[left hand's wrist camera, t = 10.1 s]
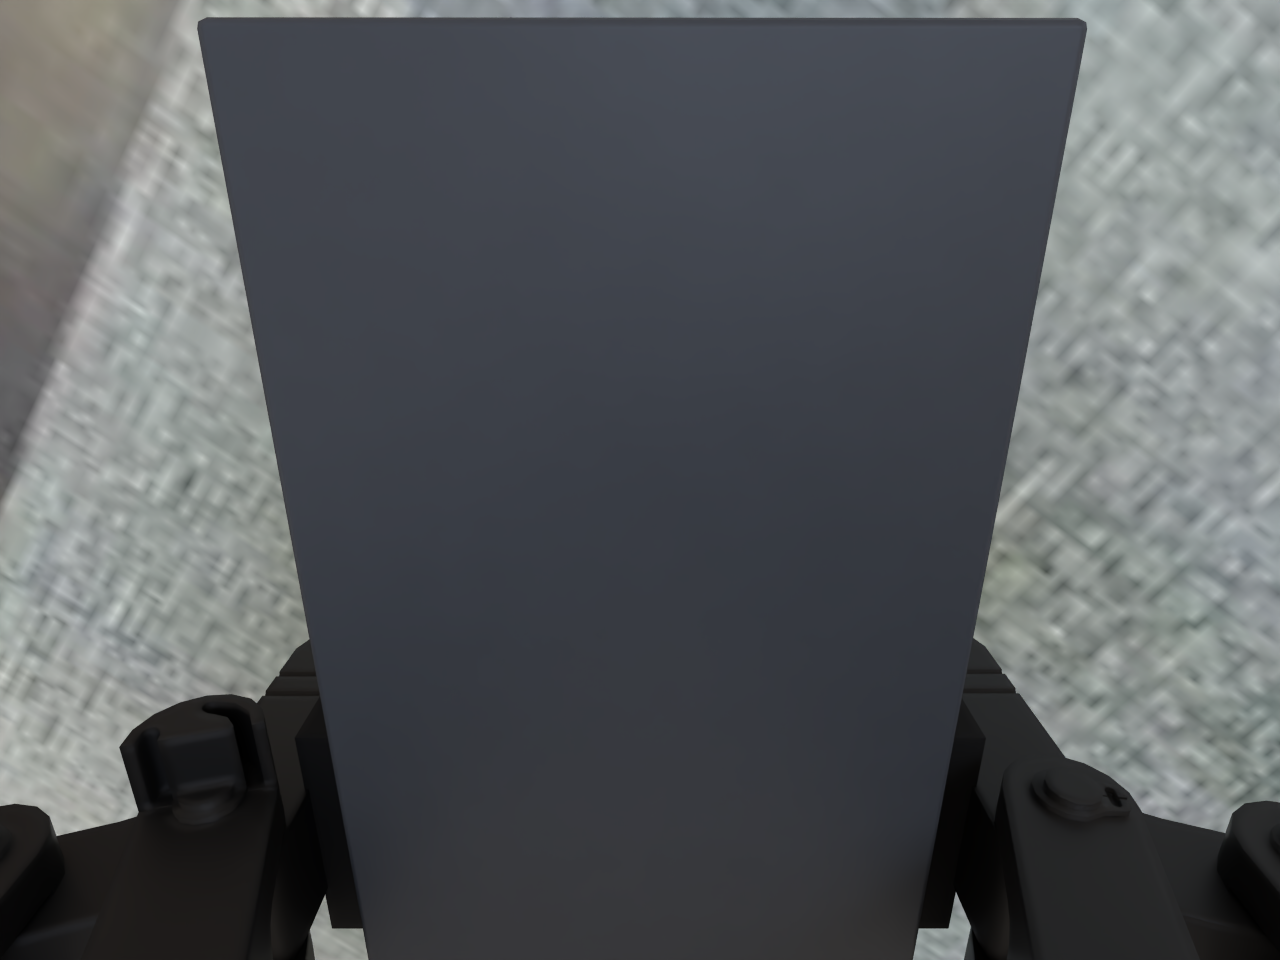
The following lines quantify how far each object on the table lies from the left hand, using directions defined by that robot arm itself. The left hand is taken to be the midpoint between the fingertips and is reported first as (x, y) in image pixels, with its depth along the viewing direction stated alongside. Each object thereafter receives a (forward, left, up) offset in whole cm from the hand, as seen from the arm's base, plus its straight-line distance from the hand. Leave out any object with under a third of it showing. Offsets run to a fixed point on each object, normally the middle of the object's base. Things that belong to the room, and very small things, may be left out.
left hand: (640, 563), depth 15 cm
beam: (+2, +17, -1) cm, 18 cm away
